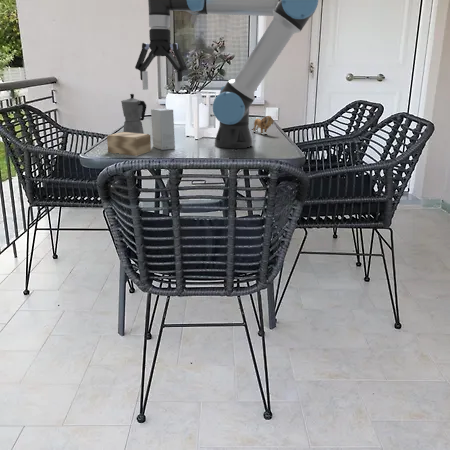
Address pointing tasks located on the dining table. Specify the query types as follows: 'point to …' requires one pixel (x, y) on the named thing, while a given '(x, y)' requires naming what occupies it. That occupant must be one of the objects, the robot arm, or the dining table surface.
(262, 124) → the lion figurine
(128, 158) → the dining table surface
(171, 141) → the skincare box
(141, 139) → the oak block
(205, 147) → the dining table surface
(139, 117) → the coffeepot
